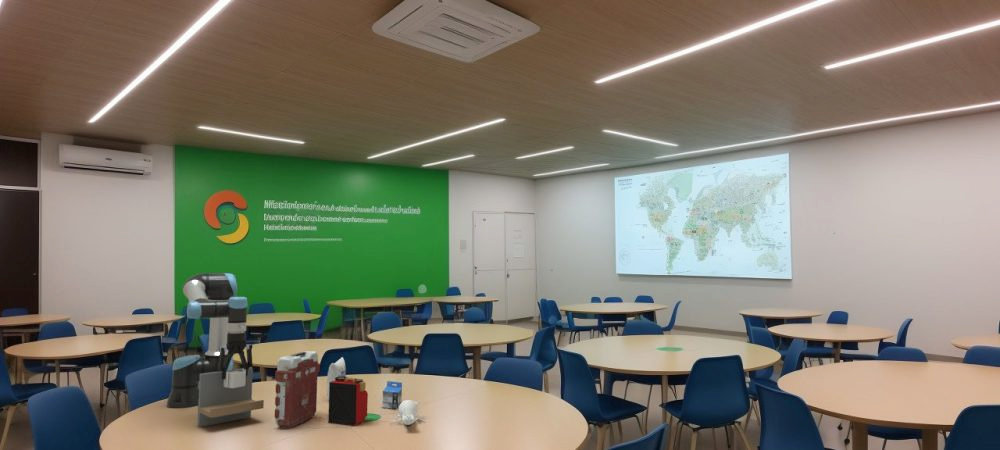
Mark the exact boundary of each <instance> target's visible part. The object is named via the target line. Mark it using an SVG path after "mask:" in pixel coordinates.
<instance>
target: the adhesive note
mask: <svg viewBox="0 0 1000 450" xmlns="http://www.w3.org/2000/svg"><path fill="white" fill-rule="evenodd" d="M242 386H245V372H242V371H232V372H229V373H228V388H237V387H242Z"/></svg>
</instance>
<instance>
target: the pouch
mask: <svg viewBox="0 0 1000 450" xmlns="http://www.w3.org/2000/svg"><path fill="white" fill-rule="evenodd" d="M345 361H346V360H345V359H344V357H343V356H342V357H340V359H338V360H337V361H335V363H334V362H332V363H331V364H330V365H329V367H328V370H327V378H326V379H327V381H326V395H327V400H328V401H329V382H331V381H335V378H336V377H342V376H344V377H347V376H346V372H347V369H346V368H347V367H346V362H345Z"/></svg>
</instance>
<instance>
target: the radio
mask: <svg viewBox="0 0 1000 450" xmlns="http://www.w3.org/2000/svg"><path fill="white" fill-rule="evenodd" d="M368 396H369V394H368V391H367V390H366V382H365V381H364V379H362V378H354V377H348V376H345V377H344V376H342V377H336V378H335V381H331V382H329V400H328V420H327V421H328V423H329V424H339V425H345V426H346V425H348V426H359V425H360V423H363V422H365V421H366V418H367V416H368V398H369V397H368Z"/></svg>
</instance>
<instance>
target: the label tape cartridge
mask: <svg viewBox="0 0 1000 450" xmlns="http://www.w3.org/2000/svg"><path fill="white" fill-rule="evenodd" d="M402 394H403V382H402V381H401V382H398V381H390V380H387V381H386V386H385V388H384V389H383V390H382V405H381V407H382V409H386V408H390V409H389V410H395V409H399V405H400V404H401V403H402V402H403V401H402V400H403V399H402V397H403V395H402Z"/></svg>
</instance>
